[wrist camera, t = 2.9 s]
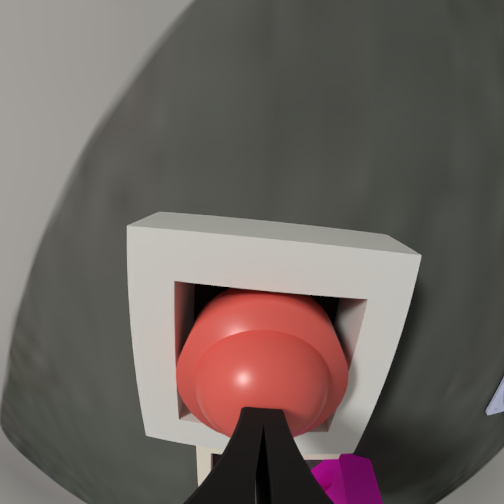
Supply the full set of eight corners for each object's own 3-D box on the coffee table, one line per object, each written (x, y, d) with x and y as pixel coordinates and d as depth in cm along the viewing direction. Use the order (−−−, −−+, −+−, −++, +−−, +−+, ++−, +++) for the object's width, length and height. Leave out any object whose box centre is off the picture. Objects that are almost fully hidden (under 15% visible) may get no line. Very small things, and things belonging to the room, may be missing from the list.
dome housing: (386, 234, 15) (421, 255, 11) (341, 409, 18) (353, 453, 14) (159, 211, 15) (127, 225, 11) (164, 393, 18) (146, 435, 14)
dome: (346, 286, 14) (387, 350, 8) (318, 401, 16) (333, 480, 10) (193, 271, 14) (153, 331, 9) (192, 390, 16) (168, 467, 10)
